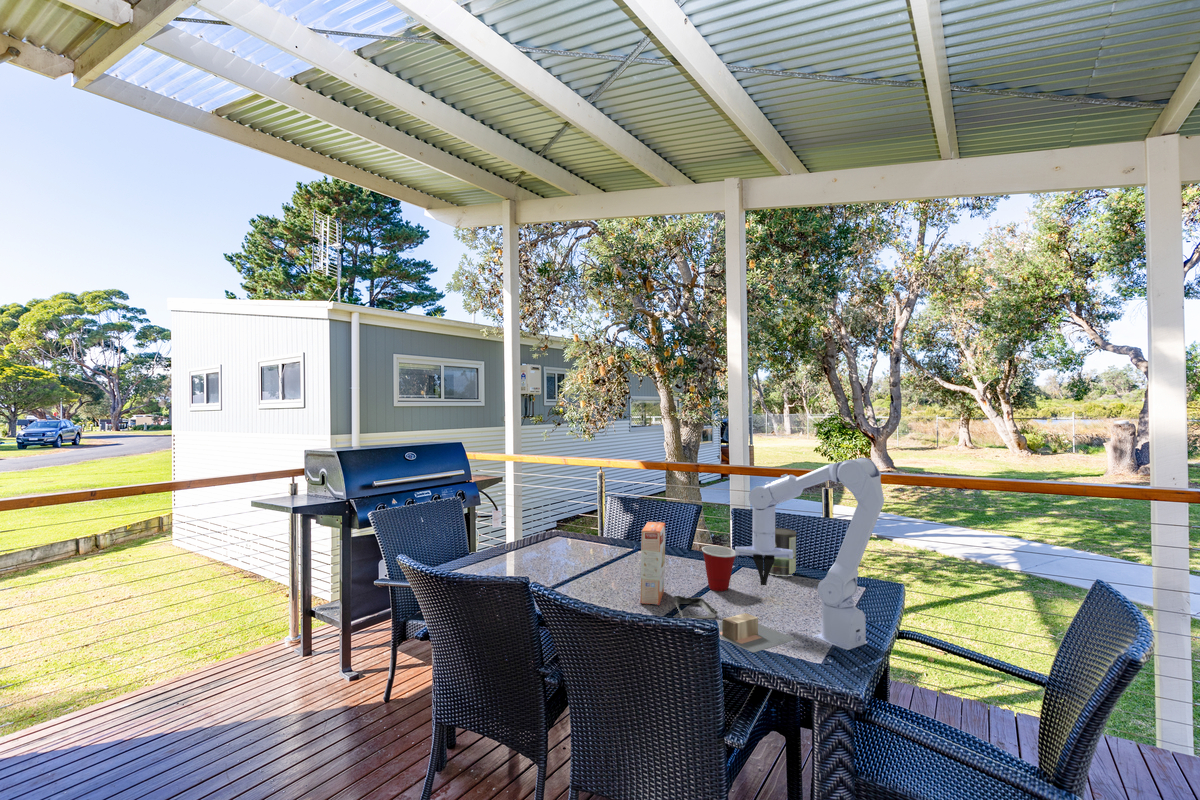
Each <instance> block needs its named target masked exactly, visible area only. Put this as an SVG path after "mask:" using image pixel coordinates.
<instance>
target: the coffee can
mask: <svg viewBox="0 0 1200 800" xmlns="http://www.w3.org/2000/svg"><path fill="white" fill-rule="evenodd" d="M775 548H782V549H791V550H793V559H790V558H784V557H774V559H775V561H774V564H773V566H772V568H771V570H770V572H769V574H771V575H778V576H788V575H792V574H793V573H795V571H796V569H797V566H796V565H797V562H796V561H797V557H796V556H797V531H796V530H793V529H790V528H785V527H783V528H782V527H775ZM796 572H797V571H796ZM771 575H770V576H771Z"/></svg>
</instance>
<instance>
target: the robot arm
mask: <svg viewBox="0 0 1200 800" xmlns="http://www.w3.org/2000/svg"><path fill="white" fill-rule="evenodd" d="M881 477H882V473H881V471H880V469H879V468H878V466H877V465H876V463H875V462H874V461H873V460H871V459H870V458H868V457H858V458H856V459H847V460H843V461H840V462H835V463H829V464H826V465H824V466H822V467H819V468H817V469H815V470H812V471H809V472H808V473H805V474H803V475H800V476H796V475H794V474H789V475H788V473H785V474H782V475H780V478H778V479H776V480H774V481H771V480H769V481H766V482H765V485H760V486H759V485H758V486H755V487H754V488H753V489H750V491H749V492H748V501H749V503H750V505H751V506H752V546H747V545H746V546H737V545H736V546H735V547H734V548H735V549H734V550H735V555H736V556H749V557H750V556H751V557H752V558H753V562H754V564H755V567H756V569H757V572H758V574H759V579H760V585H761V586H767V582H768V578H769V576H770V575H769V572H770V570H771V568H772V566H773V564H774V561H775V559H774V557H784V558H790V559H793V550H791V549H782V548H775V528H776V507H777V505H779V504H781V503H784V502H787V501H790V500H793V499H796V498H799V497H800V496H801V495H802V493H803V491H804V489H808V488H810V487H813V486H816V485H819V484H822V483H825V482H828V481H831V482H834V483H839V482H840V483H841V484H842V485H843V486H844V487H845V488H846V489H847V490H848V491H849V492H850V493H851V494H852V495H853V497H854V499H855V500H856V502H857V504H856V505H857V506H856V507H855V510H854V512H853V516H852V517H851V520H850V523H849V525H848V528H847V530H846V533H845V534H844V535H845V536H844V538H843V541H842V542H841V543H842V544H841V546H840V548H839V551H838V554H837V556H836V558H835V561H834V563H833V564H832V566H831V567H830V568H829V570H828V571H827V574H826V576H825V577H824V578H822V579H821V580H820V581H819V582H818V585H817V595H818V596H819V599H821V632H820V633H817V634H815V635H813V638H814V639H817V640H820V641H823V642H825V643H828V644H830V645H833V646H835V647H838V648H840V649H843V650H846V651H849V650H852V649H854V648H859V647H861V646H863V645H866V644H868V641H867V640H866V638H867V636H866V635H867V634H866V632H867V631H866V630H867V629H866V628H867V626H866V622H867V621H866V615H865V612H864V611H863V610H861V609H859V608H858V607H856V605H855V602H854V599H853V596H854V595H855V594H856V593H857V590H858V583H857V582H858V577H859V574H860V573H859V571H858V568H859V565H861V564H860V563H861V562H862V558H863V556H864V553H865V551H866V548H867V545H868V544H869V542H870V541H869V540H870V538H871V536H872V533H873V531H874V529H875V526H876V524H877V521H878V519H879V516H880V514H881V511H882V509H883V506H884V503H885V498H884V492H883V487H882V481H881Z"/></svg>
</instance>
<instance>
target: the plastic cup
mask: <svg viewBox="0 0 1200 800" xmlns="http://www.w3.org/2000/svg"><path fill="white" fill-rule="evenodd" d="M701 551H702V553H703V560H704V565H705V571H706V572H705V573H706V578H707V583H708V585H707V586H708V588H709V589H710V590H712V591H716V592H726V591H728V590H729V587H730V581H731V578H732V571H733V567H734V562H735V559H736V557H737V555H735V549H733V548H729V547H727V546H722V545H706V546H703V547H701ZM727 589H728V590H727ZM725 590H726V591H725Z"/></svg>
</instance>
